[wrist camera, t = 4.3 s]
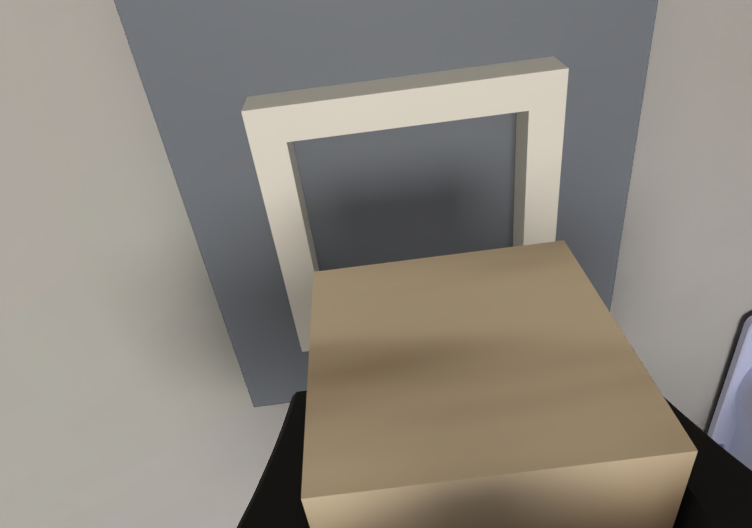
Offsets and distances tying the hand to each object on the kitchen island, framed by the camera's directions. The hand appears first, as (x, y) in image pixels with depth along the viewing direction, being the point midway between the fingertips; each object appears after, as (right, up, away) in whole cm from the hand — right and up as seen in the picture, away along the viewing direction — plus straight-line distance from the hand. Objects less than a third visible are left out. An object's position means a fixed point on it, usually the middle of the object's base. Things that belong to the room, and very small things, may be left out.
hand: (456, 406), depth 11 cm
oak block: (0, +1, +1) cm, 2 cm away
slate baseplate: (-1, +5, +8) cm, 9 cm away
